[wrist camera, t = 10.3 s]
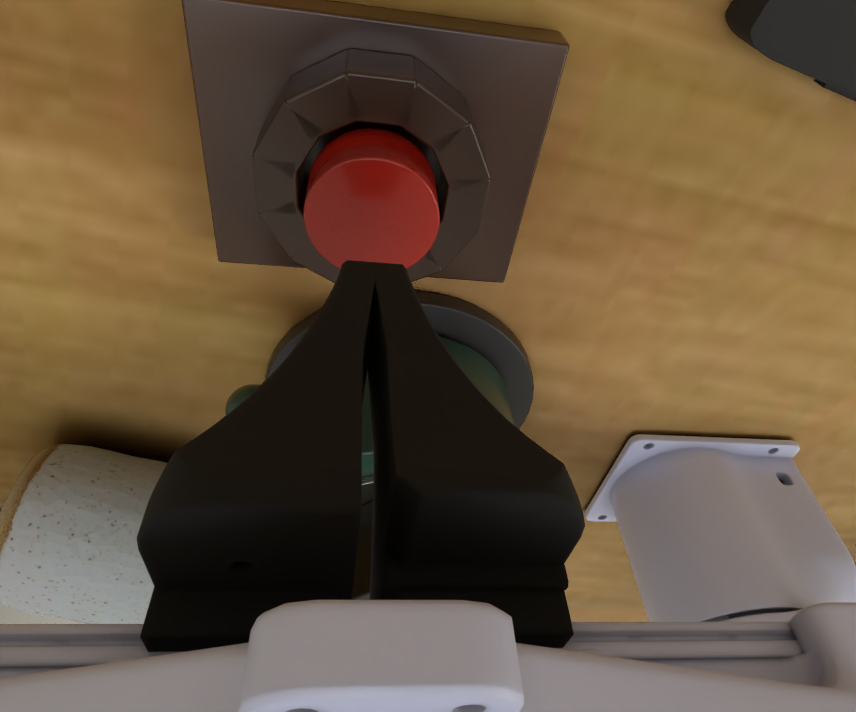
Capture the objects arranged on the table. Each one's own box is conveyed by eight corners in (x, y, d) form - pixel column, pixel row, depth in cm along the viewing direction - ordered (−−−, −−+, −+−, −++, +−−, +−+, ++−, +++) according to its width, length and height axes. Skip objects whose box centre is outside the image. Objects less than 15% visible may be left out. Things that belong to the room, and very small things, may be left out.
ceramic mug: (46, 404, 26) (-45, 573, 20) (233, 445, 29) (197, 603, 23) (41, 517, 32) (-28, 667, 27) (194, 541, 35) (158, 681, 30)
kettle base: (424, 235, 21) (425, 247, 20) (576, 401, 28) (580, 414, 27) (208, 384, 26) (204, 397, 25) (385, 494, 33) (385, 506, 32)
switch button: (444, 135, 16) (450, 165, 14) (426, 247, 18) (430, 281, 17) (308, 120, 15) (301, 150, 14) (309, 237, 18) (303, 272, 16)
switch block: (560, 31, 16) (588, 68, 14) (499, 264, 22) (512, 315, 20) (191, -19, 15) (159, 13, 13) (224, 242, 21) (206, 295, 18)
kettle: (577, 444, 28) (635, 639, 22) (423, 515, 32) (434, 699, 26) (351, 228, 19) (336, 454, 13) (174, 363, 23) (93, 589, 17)
